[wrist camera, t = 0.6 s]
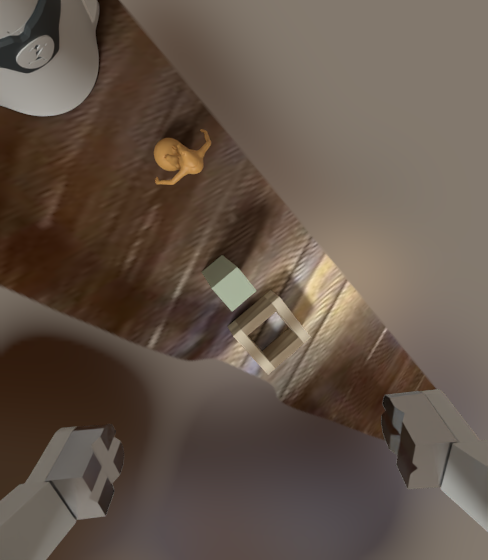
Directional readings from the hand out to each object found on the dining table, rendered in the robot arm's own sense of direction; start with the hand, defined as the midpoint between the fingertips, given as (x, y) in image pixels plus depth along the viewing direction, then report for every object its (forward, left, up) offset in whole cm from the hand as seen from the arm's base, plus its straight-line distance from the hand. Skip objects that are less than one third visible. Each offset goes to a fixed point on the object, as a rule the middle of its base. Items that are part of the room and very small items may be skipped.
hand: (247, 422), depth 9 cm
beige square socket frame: (+18, +3, -38) cm, 42 cm away
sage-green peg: (+6, +3, -38) cm, 39 cm away
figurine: (-10, +8, -38) cm, 40 cm away
